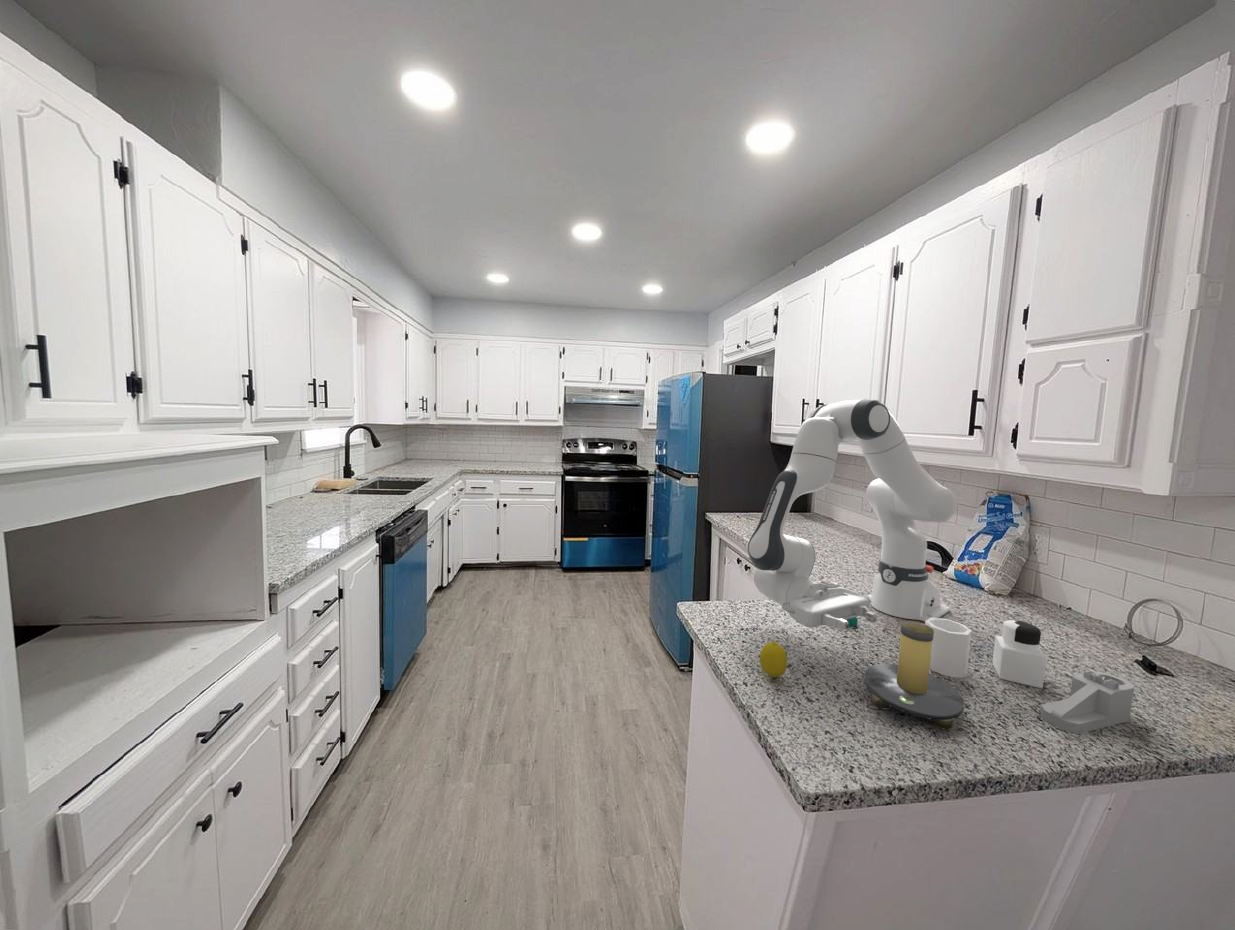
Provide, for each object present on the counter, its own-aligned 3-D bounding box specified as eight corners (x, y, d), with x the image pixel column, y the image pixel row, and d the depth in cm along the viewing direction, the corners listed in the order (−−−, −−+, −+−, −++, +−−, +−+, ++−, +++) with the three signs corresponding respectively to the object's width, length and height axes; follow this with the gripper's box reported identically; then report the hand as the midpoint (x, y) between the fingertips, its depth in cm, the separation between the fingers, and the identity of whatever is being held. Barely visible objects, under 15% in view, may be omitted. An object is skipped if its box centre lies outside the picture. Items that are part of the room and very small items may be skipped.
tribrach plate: (895, 675, 96) (896, 656, 96) (980, 720, 82) (982, 698, 82) (845, 692, 90) (847, 672, 89) (929, 745, 75) (931, 721, 75)
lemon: (754, 677, 94) (756, 641, 94) (766, 667, 98) (768, 633, 97) (778, 688, 90) (781, 651, 90) (790, 678, 94) (792, 642, 93)
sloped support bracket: (1034, 715, 84) (1039, 676, 83) (1097, 702, 89) (1102, 664, 88) (1071, 736, 79) (1077, 694, 78) (1136, 720, 83) (1142, 680, 83)
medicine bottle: (1032, 673, 98) (1039, 621, 97) (1043, 689, 92) (1050, 634, 91) (991, 663, 102) (997, 614, 101) (999, 678, 96) (1005, 626, 95)
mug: (941, 655, 105) (945, 616, 104) (977, 676, 97) (982, 633, 96) (899, 660, 103) (903, 619, 102) (932, 681, 94) (936, 637, 93)
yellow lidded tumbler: (906, 676, 89) (911, 619, 88) (934, 690, 84) (939, 630, 83) (890, 682, 87) (895, 623, 85) (917, 697, 82) (923, 635, 81)
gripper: (777, 592, 102) (828, 616, 90) (838, 580, 111) (892, 601, 99) (776, 618, 103) (826, 645, 91) (836, 604, 112) (889, 628, 99)
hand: (861, 622), depth 95 cm, fingers open, 8 cm apart
